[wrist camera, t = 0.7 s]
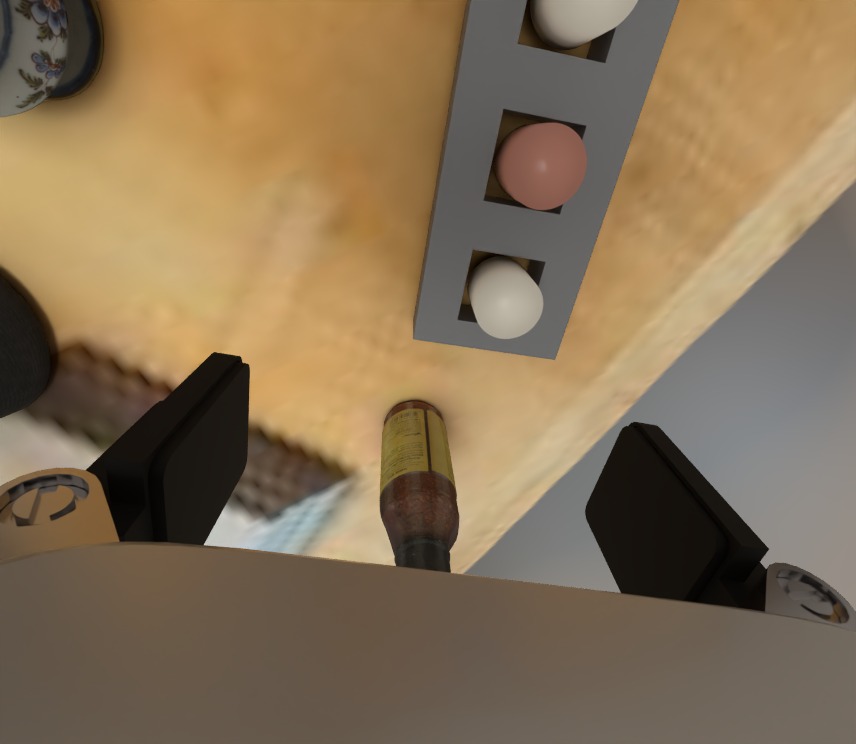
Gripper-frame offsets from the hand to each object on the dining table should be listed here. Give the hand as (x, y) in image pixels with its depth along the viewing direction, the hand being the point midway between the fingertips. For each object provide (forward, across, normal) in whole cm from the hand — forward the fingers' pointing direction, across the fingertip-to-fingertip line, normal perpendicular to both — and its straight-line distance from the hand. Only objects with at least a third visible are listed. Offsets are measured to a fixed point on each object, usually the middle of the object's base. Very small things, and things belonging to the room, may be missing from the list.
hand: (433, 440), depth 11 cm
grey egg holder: (+28, -6, -7) cm, 29 cm away
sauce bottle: (+29, -3, +18) cm, 34 cm away
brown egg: (+25, -6, -7) cm, 27 cm away
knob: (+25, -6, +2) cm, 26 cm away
